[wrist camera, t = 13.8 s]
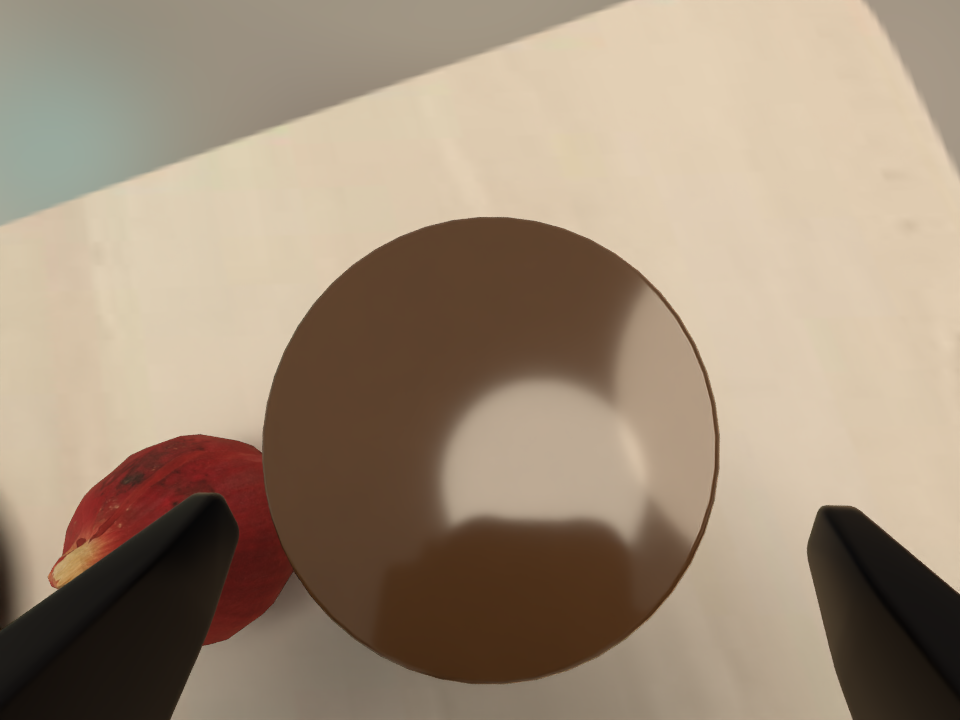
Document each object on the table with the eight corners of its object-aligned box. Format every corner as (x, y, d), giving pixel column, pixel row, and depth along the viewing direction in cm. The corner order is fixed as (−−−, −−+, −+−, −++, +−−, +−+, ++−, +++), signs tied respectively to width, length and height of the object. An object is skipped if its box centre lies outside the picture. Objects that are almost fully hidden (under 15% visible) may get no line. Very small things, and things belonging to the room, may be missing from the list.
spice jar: (632, 547, 18) (736, 708, 6) (456, 540, 19) (239, 667, 7) (627, 370, 19) (708, 201, 7) (460, 372, 20) (277, 225, 8)
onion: (207, 431, 21) (-7, 410, 14) (354, 453, 20) (212, 444, 12) (171, 596, 20) (-80, 675, 13) (323, 629, 19) (149, 737, 11)
